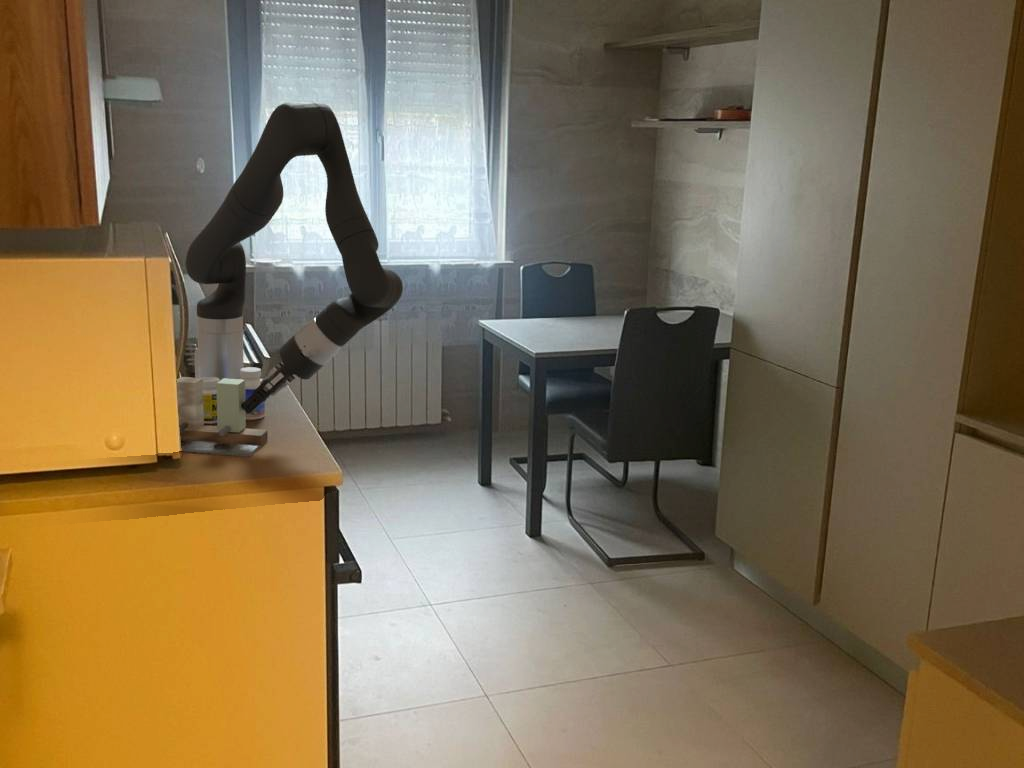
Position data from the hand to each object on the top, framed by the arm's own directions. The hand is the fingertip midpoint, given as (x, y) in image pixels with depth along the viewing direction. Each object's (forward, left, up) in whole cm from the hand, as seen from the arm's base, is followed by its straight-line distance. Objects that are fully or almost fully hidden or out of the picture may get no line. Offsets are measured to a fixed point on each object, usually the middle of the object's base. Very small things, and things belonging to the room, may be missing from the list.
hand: (245, 408), depth 175 cm
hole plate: (-2, -7, -6) cm, 9 cm away
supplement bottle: (-14, +5, -6) cm, 17 cm away
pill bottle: (-10, +12, -6) cm, 17 cm away
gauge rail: (-3, -4, -6) cm, 8 cm away
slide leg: (-2, -3, -4) cm, 5 cm away
